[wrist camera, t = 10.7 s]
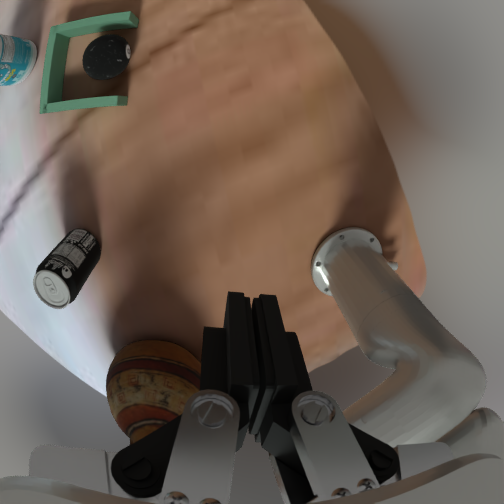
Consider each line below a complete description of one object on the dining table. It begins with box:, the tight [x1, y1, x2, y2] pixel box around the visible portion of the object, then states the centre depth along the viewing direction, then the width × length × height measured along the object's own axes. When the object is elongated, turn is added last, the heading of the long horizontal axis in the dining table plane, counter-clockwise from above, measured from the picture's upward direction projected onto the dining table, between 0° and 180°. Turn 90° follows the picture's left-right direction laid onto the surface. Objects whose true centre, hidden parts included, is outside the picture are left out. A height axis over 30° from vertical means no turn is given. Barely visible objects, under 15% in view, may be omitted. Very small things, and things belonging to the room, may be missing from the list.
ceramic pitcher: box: [106, 340, 201, 445], centre depth 39 cm, size 20×20×30 cm
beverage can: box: [33, 229, 101, 309], centre depth 34 cm, size 7×7×12 cm
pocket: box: [40, 11, 139, 114], centre depth 25 cm, size 12×12×4 cm
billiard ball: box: [83, 34, 130, 80], centre depth 25 cm, size 6×6×6 cm
